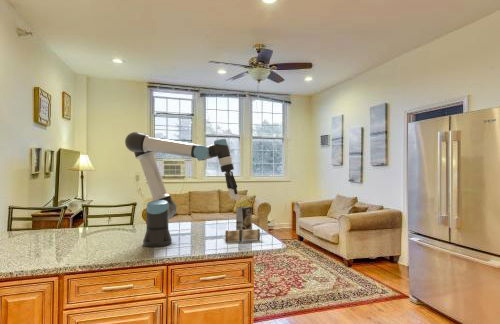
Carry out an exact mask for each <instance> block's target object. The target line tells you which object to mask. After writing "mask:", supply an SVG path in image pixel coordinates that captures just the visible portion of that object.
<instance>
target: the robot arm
mask: <svg viewBox="0 0 500 324" xmlns="http://www.w3.org/2000/svg"><path fill="white" fill-rule="evenodd" d="M124 143H125V147H126V149H127V150H128V151H130V152H132V153H133V154H134V156H135V157H134V158H135V159H137V160H138V161H139V162H140V166H141V168H142V171H143V175H144V177H145V180H146V183H147V186H148V188H149V192H150V194H151V196H152V199H151V201H148V203H146V209H145V211H146V232H145V234H144V236H143V237H144V238H143V241H142V245H143V246H144V247H147V248H161V247H167V246H169V245H171V244H172V236H171V234H170V230H169V220H171V219H173V217H174V216H176V213H177V209H178V208H177V204H176V203H175V201H174V200H173V198H172V196H171V194H169V193H168V192H167V189H166V187H165V184H164V181H163V179H162V178H163V177H162V175H161V173H160V169H159V167H158V164H157V161H156V158H155V154H156V153H161V154H168V155H173V156H179V157H185V158H186V157H188V158H193V159H197V161H198V162H200V161H205V160H208V159H213V158H217V159H218V164H219V166H220V171H221V173H224V177H225V182H226V188H227V189H228V190H227V191H228V194H229V197H230V200H234V201H238V200H240V196H239V195H240V194H239V191H238V185H237V181H236V179H235V176H234V172H233V170H235V168H234V164H233V161H232V159H233V157H232V156H231V152H230V149H229V145H228V141H227V139H226V138H219V139H216V140H214V141H213V143H212V144H210V145H207V146H206V145H203V144H195V143H189V142H184V141H176V140H170V139H163V138H156V137H151V135H149V134H147V133H142V132H137V131H133V132H131V133H128V134H127V136H126V137H125V140H124Z"/></svg>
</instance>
